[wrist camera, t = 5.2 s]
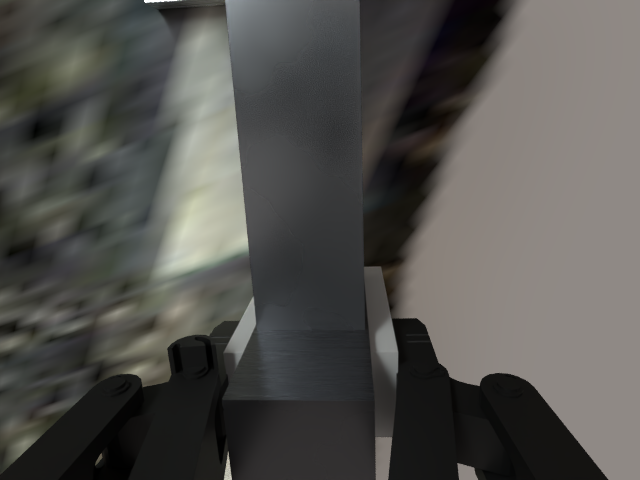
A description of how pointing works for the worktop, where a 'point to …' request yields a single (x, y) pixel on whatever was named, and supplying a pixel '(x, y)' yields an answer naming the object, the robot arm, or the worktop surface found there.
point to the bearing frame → (182, 3)
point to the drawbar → (301, 245)
